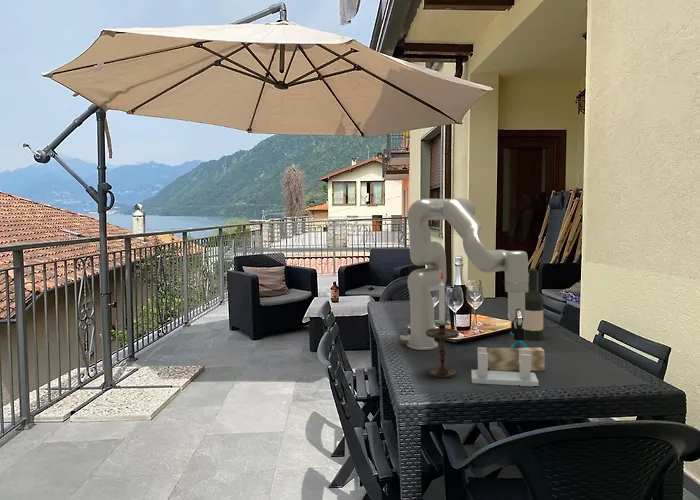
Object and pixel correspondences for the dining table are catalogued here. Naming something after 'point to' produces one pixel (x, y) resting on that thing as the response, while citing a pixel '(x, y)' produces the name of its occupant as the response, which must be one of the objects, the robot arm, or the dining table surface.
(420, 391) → the dining table surface
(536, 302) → the wine bottle
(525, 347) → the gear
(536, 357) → the rail
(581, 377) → the dining table surface
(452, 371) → the candlestick
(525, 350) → the cradle
